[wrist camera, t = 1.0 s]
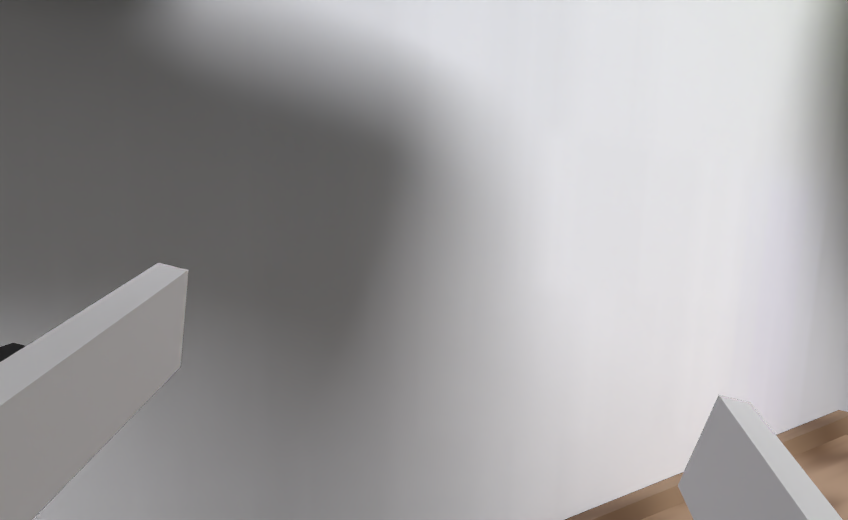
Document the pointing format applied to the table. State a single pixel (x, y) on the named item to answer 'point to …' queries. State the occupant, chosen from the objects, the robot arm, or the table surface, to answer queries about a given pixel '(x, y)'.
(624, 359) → the table surface
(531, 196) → the table surface
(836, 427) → the stand
